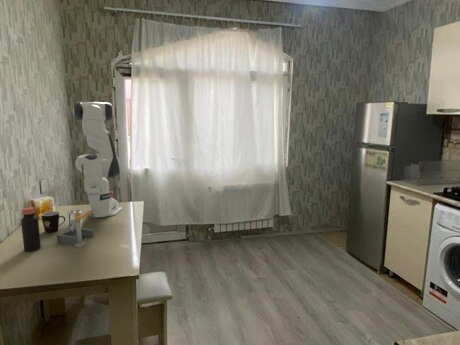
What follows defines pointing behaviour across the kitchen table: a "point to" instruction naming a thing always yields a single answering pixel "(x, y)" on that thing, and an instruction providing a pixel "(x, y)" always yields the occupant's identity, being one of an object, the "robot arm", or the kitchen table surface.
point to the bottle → (30, 230)
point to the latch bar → (85, 215)
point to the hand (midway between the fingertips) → (95, 213)
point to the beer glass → (73, 221)
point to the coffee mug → (51, 221)
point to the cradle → (75, 240)
